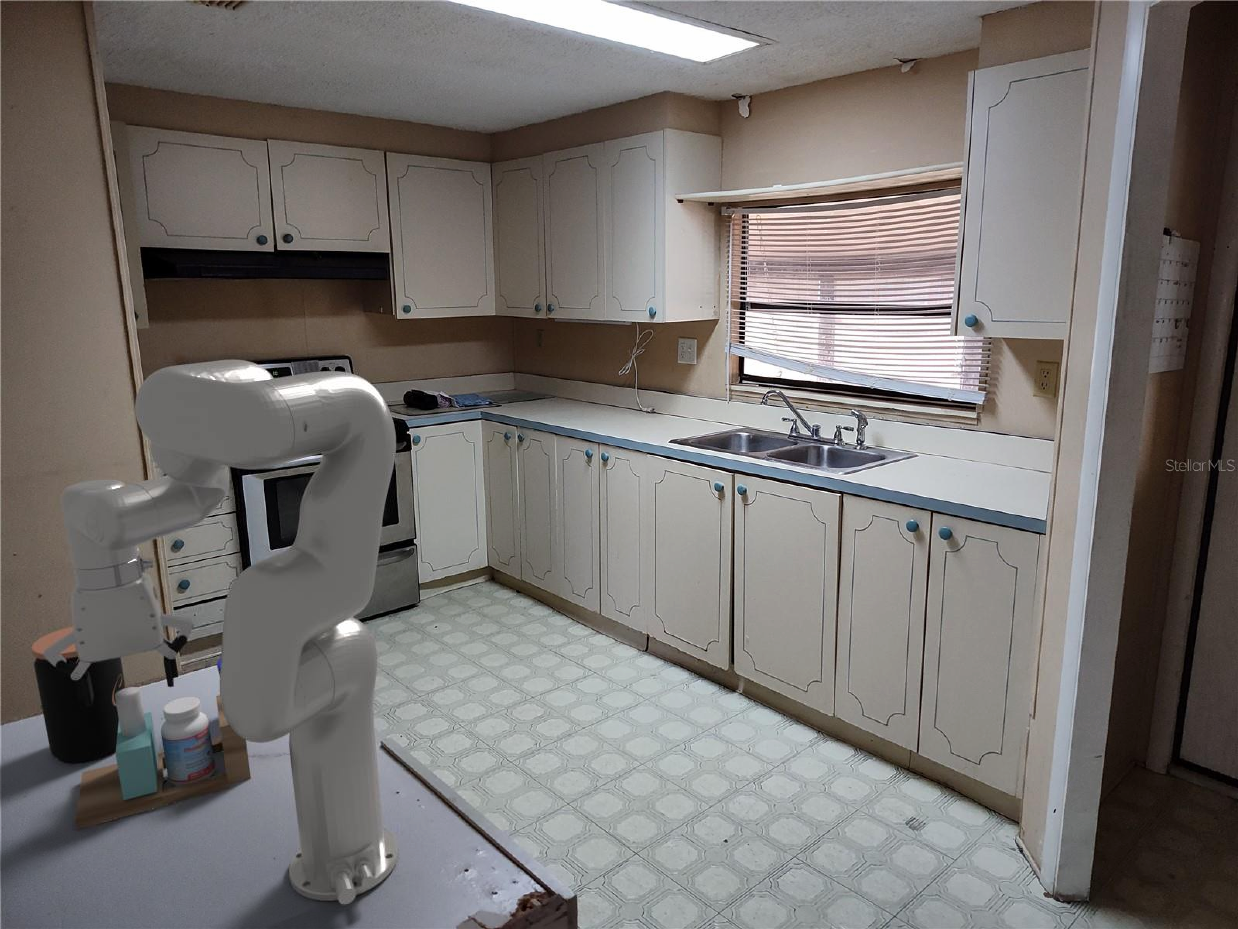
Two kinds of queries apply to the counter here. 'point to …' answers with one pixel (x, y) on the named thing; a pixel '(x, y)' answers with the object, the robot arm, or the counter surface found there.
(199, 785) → the wooden tray
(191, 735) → the pill bottle
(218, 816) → the counter surface
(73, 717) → the coffee jar
